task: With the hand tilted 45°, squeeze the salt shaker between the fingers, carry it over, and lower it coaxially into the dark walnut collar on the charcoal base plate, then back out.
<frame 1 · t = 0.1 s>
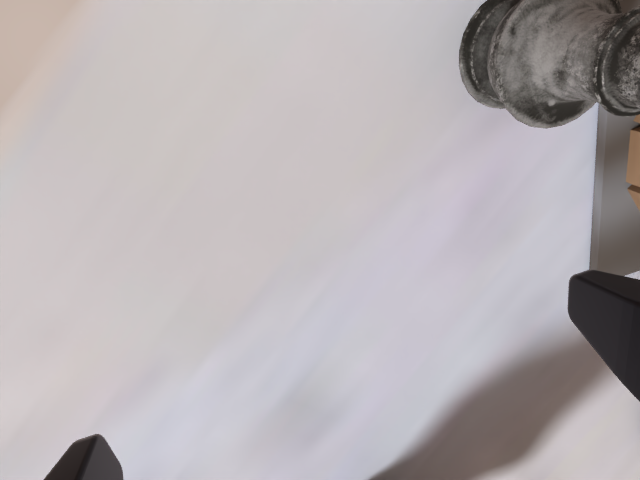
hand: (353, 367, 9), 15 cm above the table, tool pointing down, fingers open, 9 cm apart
salt shaker: (507, 50, 22), on the table
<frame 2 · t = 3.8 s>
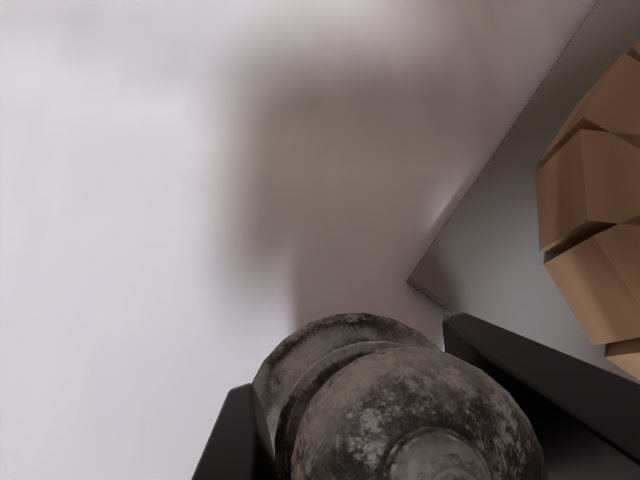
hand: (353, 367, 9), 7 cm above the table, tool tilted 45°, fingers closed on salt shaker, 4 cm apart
salt shaker: (347, 423, 15), on the table, touching gripper
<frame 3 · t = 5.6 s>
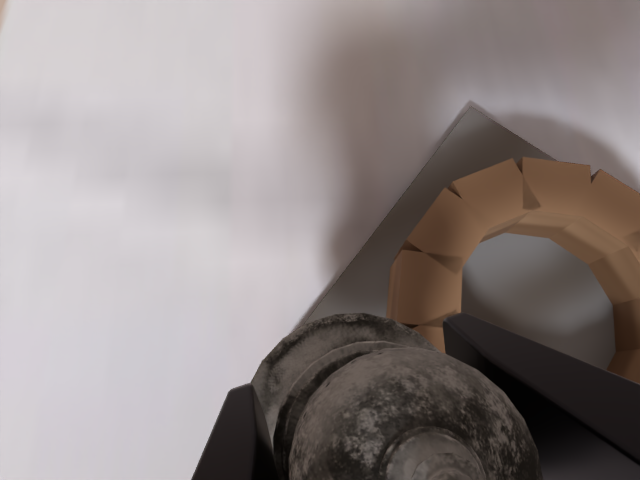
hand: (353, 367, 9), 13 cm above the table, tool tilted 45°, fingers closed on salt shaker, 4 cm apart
salt shaker: (346, 422, 15), point 6 cm above the table, touching gripper
walnut collar: (521, 318, 22), on the table
when the fingers open (9 cm above the table, at t = 7.7 s): salt shaker drops 1 cm, resting on walnut collar.
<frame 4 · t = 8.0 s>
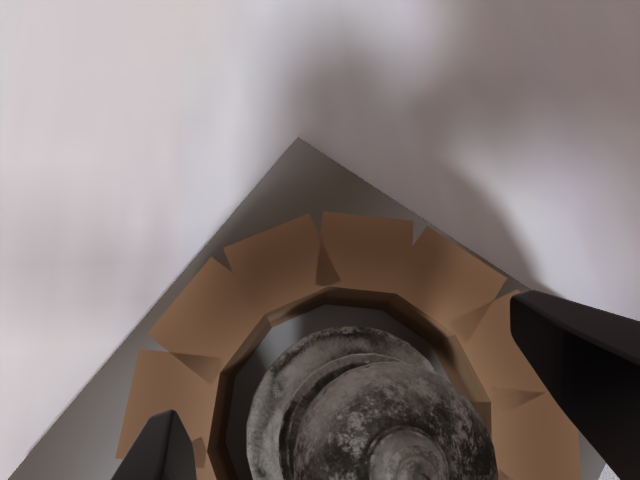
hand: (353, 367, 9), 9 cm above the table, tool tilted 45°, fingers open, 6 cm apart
salt shaker: (344, 426, 16), resting on walnut collar
walnut collar: (343, 420, 17), on the table
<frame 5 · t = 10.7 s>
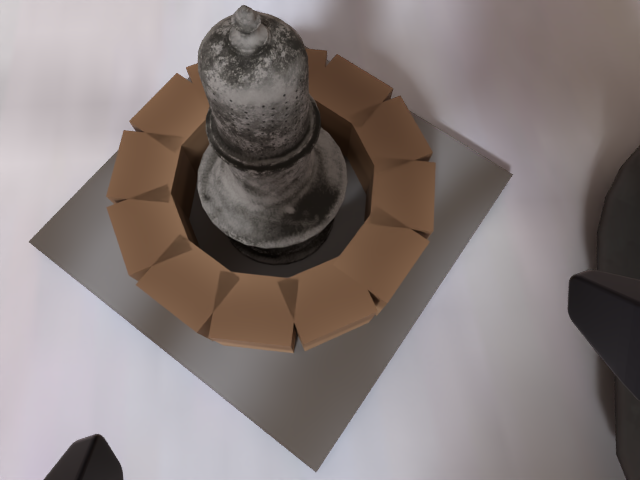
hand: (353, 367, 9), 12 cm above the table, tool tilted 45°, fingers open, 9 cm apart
salt shaker: (278, 211, 22), resting on walnut collar
walnut collar: (279, 211, 22), on the table
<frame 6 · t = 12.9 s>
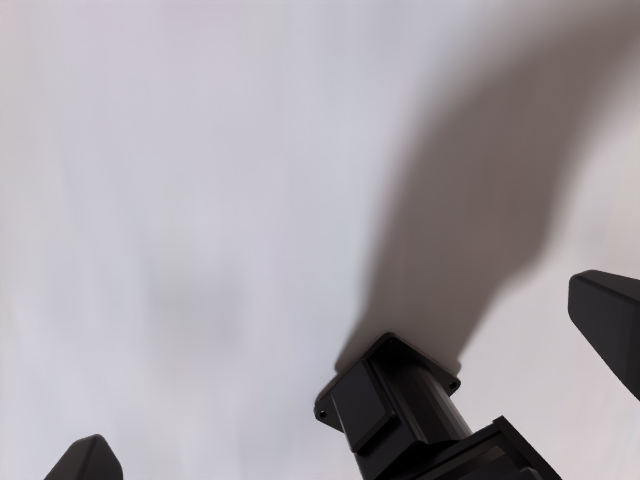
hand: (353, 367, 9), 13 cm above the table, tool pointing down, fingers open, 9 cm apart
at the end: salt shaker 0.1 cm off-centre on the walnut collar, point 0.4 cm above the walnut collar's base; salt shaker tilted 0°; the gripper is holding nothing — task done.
